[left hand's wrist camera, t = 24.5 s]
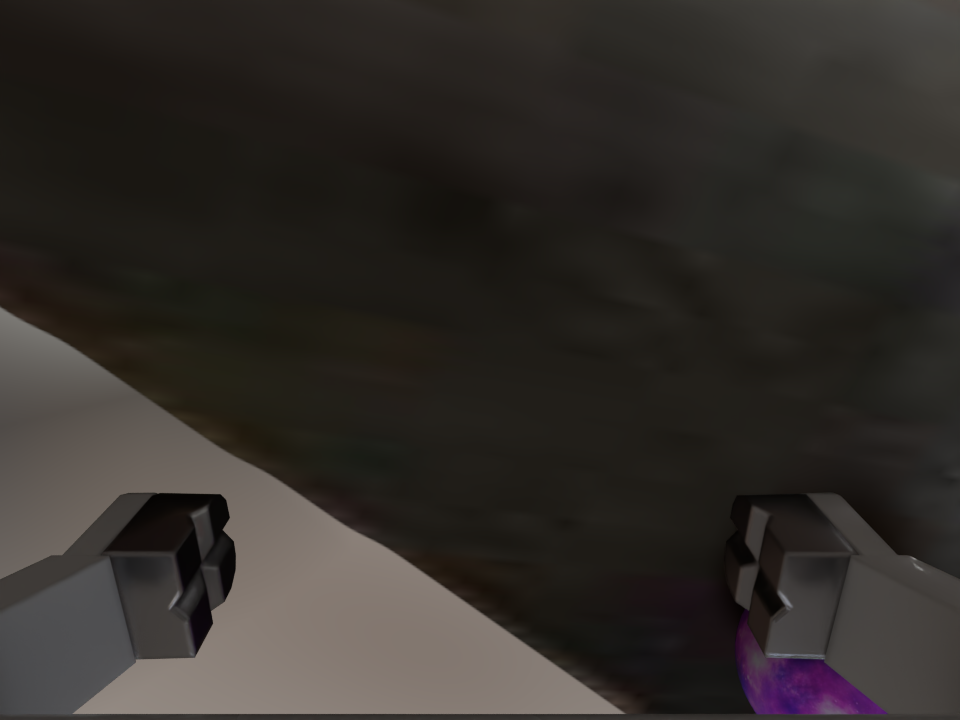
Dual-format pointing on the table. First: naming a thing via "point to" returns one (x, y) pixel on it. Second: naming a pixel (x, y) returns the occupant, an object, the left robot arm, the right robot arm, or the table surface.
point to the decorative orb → (794, 682)
